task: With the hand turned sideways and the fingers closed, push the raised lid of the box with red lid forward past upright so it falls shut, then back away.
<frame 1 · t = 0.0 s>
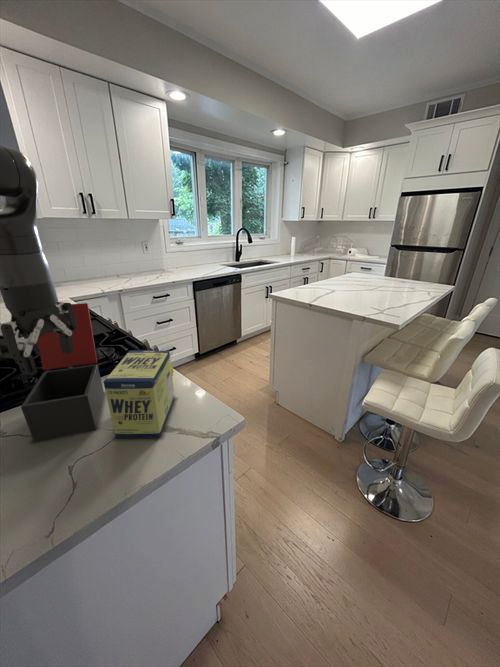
hand: (50, 362, 54), 21 cm above the countertop, tool pointing down, fingers open, 8 cm apart
box with red lid: (73, 415, 71), on the countertop
lemon: (165, 383, 86), on the countertop
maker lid: (65, 336, 73), point 18 cm above the countertop, hinge at 105.1°
protein box: (148, 417, 71), on the countertop
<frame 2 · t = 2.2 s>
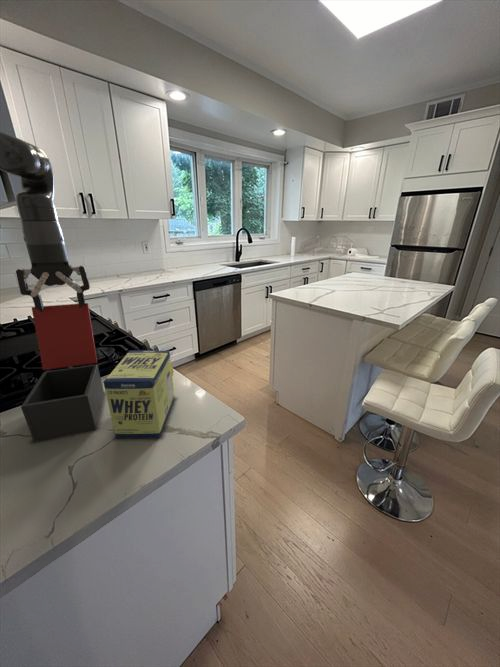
hand: (62, 308, 71), 26 cm above the countertop, tool pointing down, fingers open, 8 cm apart
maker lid: (65, 336, 73), point 18 cm above the countertop, hinge at 106.1°, touching gripper
everything else where it was.
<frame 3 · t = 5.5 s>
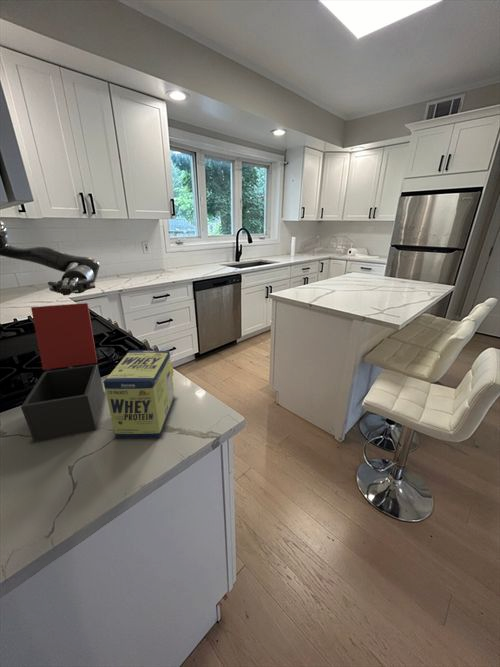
hand: (64, 291, 77), 28 cm above the countertop, tool horizontal, fingers closed
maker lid: (65, 336, 73), point 18 cm above the countertop, hinge at 105.1°
everything else where it was.
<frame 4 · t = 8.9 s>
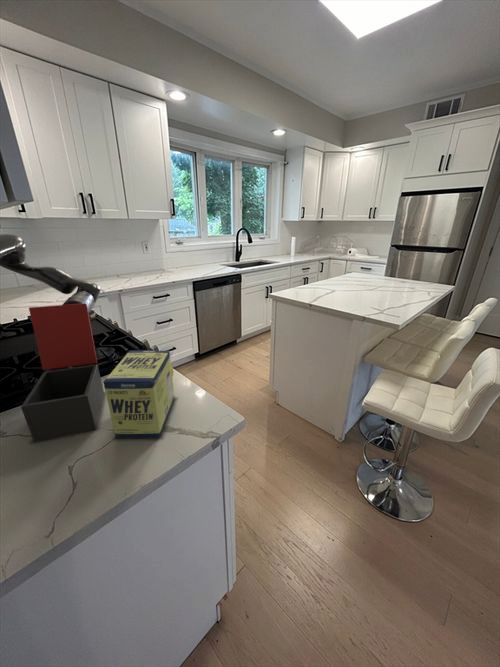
hand: (63, 327, 72), 21 cm above the countertop, tool horizontal, fingers closed
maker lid: (64, 336, 72), point 18 cm above the countertop, hinge at 100.1°, touching gripper
everything else where it was.
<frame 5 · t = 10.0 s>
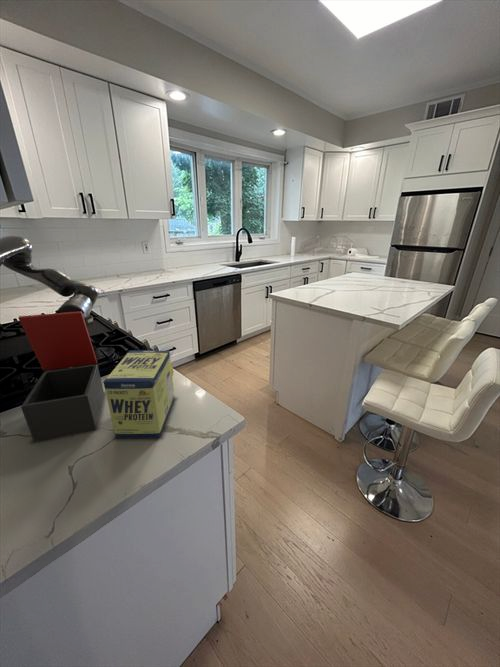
hand: (59, 333, 68), 21 cm above the countertop, tool horizontal, fingers closed
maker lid: (61, 342, 69), point 18 cm above the countertop, hinge at 76.0°, touching gripper
everything else where it was.
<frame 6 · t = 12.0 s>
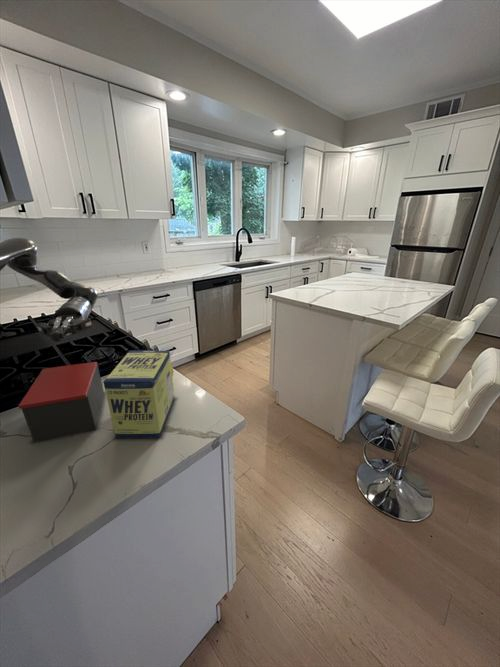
hand: (56, 337, 66), 21 cm above the countertop, tool horizontal, fingers closed
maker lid: (63, 382, 67), point 10 cm above the countertop, hinge at -0.1°
everything else where it was.
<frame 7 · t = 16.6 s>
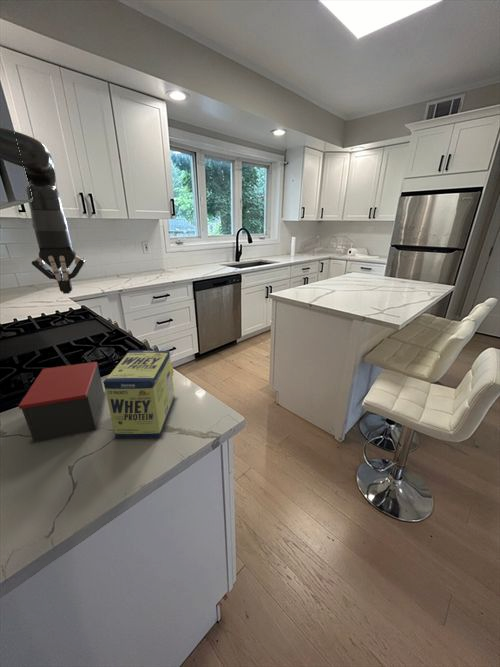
hand: (67, 292, 80), 27 cm above the countertop, tool pointing down, fingers closed
nothing on the countertop moved.
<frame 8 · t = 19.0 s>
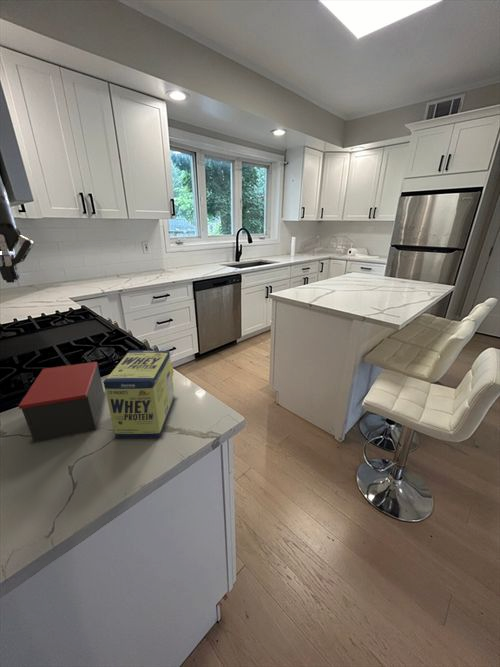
hand: (12, 281, 65), 33 cm above the countertop, tool pointing down, fingers closed
nothing on the countertop moved.
at the end: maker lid at +0° (first picture: +105°) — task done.
